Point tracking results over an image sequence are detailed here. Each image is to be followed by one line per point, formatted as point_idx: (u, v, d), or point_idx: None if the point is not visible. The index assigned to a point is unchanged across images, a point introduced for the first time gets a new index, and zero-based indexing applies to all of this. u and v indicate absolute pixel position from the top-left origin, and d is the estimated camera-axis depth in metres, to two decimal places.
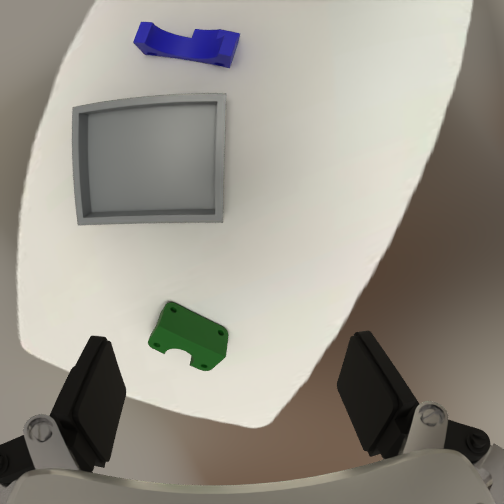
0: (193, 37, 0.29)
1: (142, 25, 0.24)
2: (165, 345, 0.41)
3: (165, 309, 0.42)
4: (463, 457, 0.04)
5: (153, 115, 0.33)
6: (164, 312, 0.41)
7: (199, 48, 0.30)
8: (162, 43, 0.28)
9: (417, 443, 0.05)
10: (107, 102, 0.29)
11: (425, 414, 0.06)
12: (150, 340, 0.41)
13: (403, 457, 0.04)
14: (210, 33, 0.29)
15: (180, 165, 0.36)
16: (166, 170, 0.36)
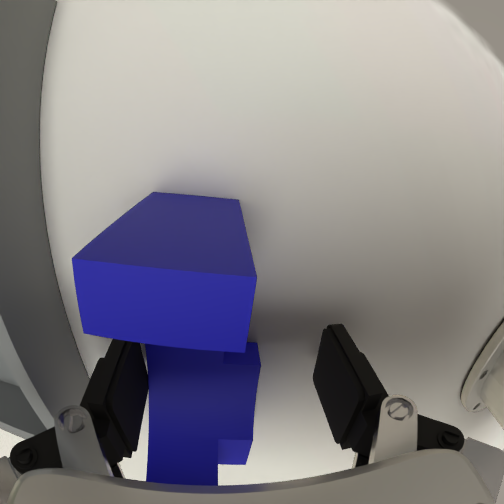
0: (225, 367, 0.11)
1: (224, 291, 0.04)
2: None
3: None
4: (463, 457, 0.04)
5: None
6: None
7: (184, 390, 0.11)
8: None
9: (389, 439, 0.06)
10: None
11: (392, 408, 0.07)
12: None
13: (403, 457, 0.04)
14: (241, 411, 0.11)
15: None
16: None
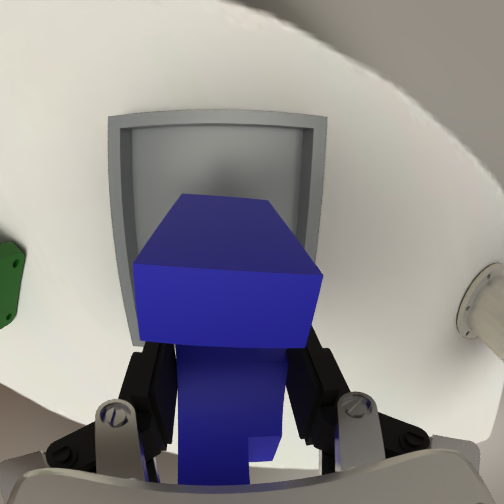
0: (255, 365, 0.11)
1: (293, 290, 0.05)
2: None
3: (13, 256, 0.22)
4: (463, 457, 0.04)
5: None
6: (8, 257, 0.21)
7: (214, 390, 0.11)
8: None
9: (352, 439, 0.06)
10: (321, 185, 0.21)
11: (350, 406, 0.07)
12: None
13: (403, 457, 0.04)
14: (270, 408, 0.11)
15: None
16: None
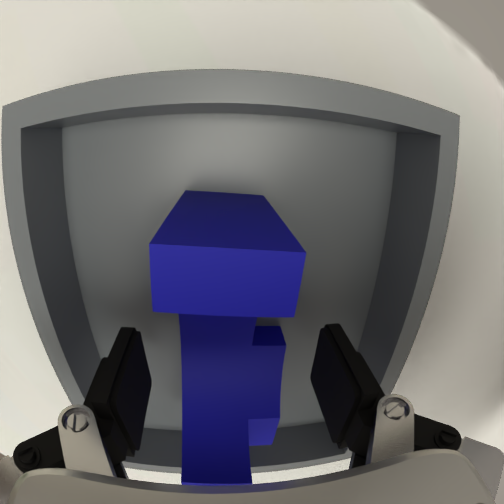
0: (254, 349, 0.12)
1: (281, 265, 0.06)
2: None
3: None
4: (463, 457, 0.04)
5: (343, 328, 0.14)
6: None
7: (216, 374, 0.12)
8: None
9: (385, 439, 0.06)
10: (440, 250, 0.10)
11: (388, 408, 0.07)
12: None
13: (403, 457, 0.04)
14: (269, 390, 0.12)
15: None
16: None
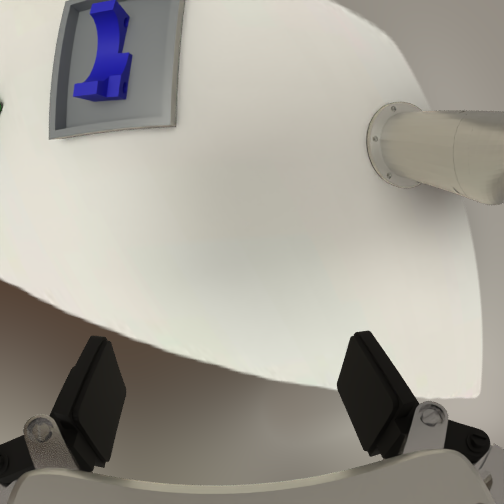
0: (118, 54, 0.26)
1: (111, 2, 0.19)
2: None
3: None
4: (463, 457, 0.04)
5: (160, 55, 0.28)
6: None
7: (104, 65, 0.26)
8: (105, 29, 0.23)
9: (417, 443, 0.05)
10: (177, 9, 0.23)
11: (425, 414, 0.06)
12: None
13: (403, 457, 0.04)
14: (120, 68, 0.26)
15: None
16: None
